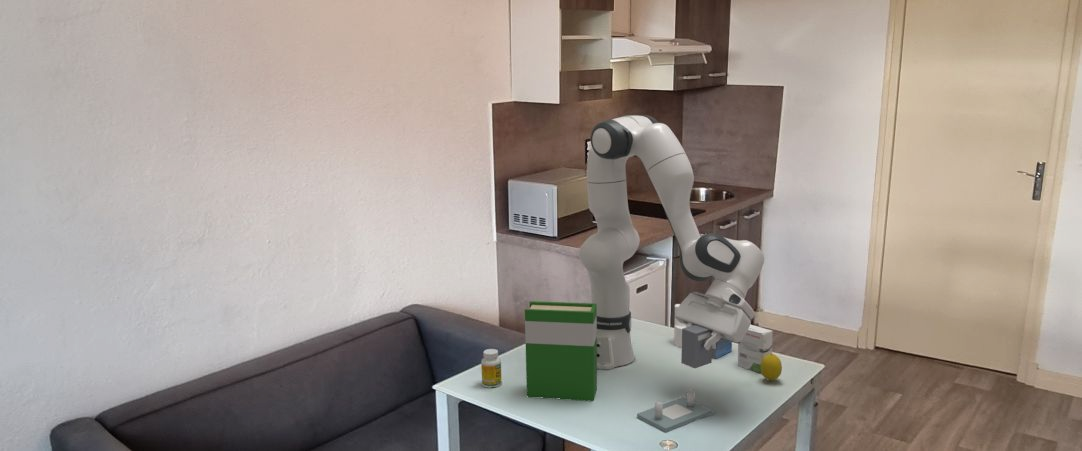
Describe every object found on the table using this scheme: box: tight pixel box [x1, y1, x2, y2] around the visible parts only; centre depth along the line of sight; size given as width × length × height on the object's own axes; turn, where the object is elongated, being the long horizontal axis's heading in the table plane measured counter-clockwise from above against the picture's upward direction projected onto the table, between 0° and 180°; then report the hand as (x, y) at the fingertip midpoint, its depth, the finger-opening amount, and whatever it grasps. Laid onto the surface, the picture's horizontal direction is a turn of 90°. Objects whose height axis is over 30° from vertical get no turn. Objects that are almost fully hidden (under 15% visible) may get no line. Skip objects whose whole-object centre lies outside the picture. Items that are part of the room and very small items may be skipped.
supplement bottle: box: [480, 348, 503, 388], centre depth 217 cm, size 5×5×10 cm
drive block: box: [681, 325, 713, 369], centre depth 197 cm, size 6×5×9 cm
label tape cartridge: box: [712, 337, 733, 360], centre depth 235 cm, size 9×4×12 cm, turn 136°
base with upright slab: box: [673, 303, 686, 349], centre depth 244 cm, size 9×9×12 cm
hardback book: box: [524, 300, 598, 402], centre depth 209 cm, size 18×7×24 cm, turn 80°
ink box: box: [737, 323, 774, 374], centre depth 225 cm, size 9×5×12 cm, turn 39°
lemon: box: [760, 352, 783, 382], centre depth 215 cm, size 6×6×8 cm
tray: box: [636, 389, 713, 433], centre depth 196 cm, size 16×10×5 cm, turn 126°
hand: (695, 344), depth 197 cm, fingers closed on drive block, 4 cm apart
